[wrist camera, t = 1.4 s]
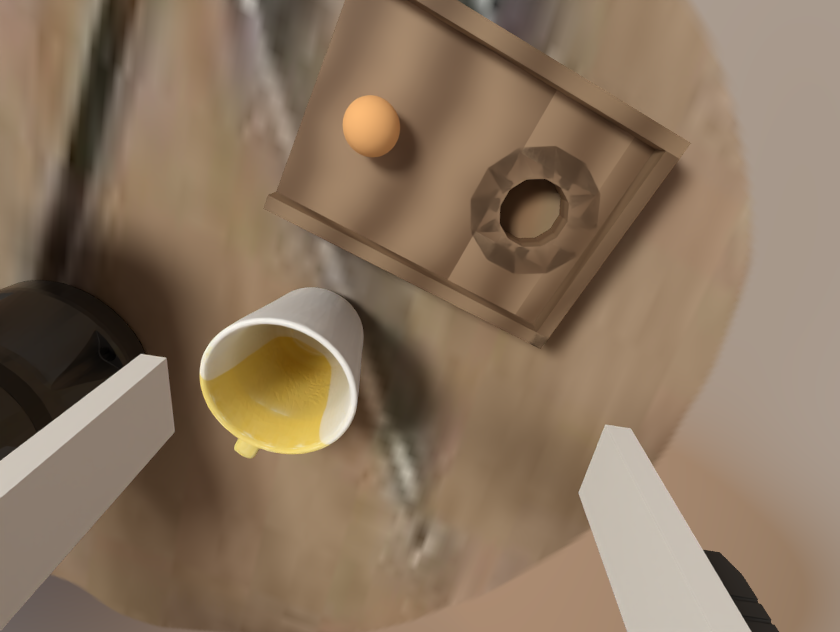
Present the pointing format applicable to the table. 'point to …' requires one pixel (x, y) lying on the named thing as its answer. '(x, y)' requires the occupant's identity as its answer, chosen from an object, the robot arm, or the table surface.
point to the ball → (371, 126)
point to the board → (469, 161)
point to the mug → (286, 373)
